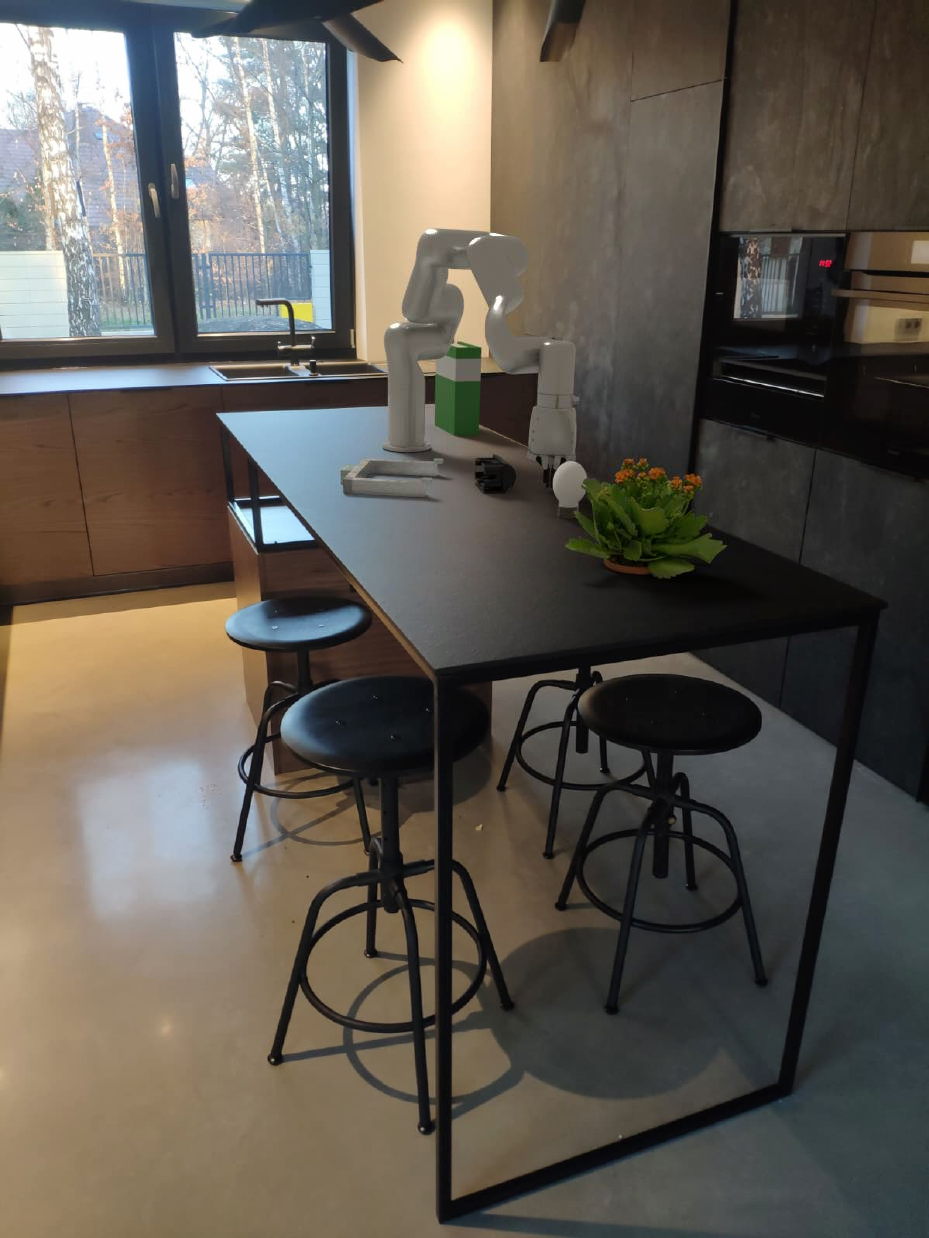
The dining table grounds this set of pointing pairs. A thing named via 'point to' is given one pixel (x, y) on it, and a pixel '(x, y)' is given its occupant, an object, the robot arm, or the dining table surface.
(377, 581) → the dining table surface
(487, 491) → the end cap
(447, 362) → the green white box
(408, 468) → the mounting bracket
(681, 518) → the potted flower
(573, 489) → the light bulb
